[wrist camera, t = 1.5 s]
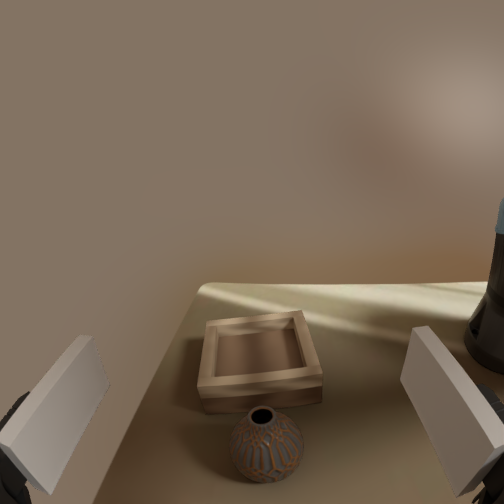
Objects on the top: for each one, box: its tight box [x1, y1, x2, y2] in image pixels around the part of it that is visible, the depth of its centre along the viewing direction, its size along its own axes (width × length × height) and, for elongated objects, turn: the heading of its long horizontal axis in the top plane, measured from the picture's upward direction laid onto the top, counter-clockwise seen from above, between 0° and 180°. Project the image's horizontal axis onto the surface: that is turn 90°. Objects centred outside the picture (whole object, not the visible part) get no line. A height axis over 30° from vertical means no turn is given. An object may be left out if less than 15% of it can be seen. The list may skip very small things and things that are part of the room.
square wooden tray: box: [197, 310, 323, 414], centre depth 40 cm, size 14×14×5 cm
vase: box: [229, 406, 304, 483], centre depth 25 cm, size 7×7×9 cm
